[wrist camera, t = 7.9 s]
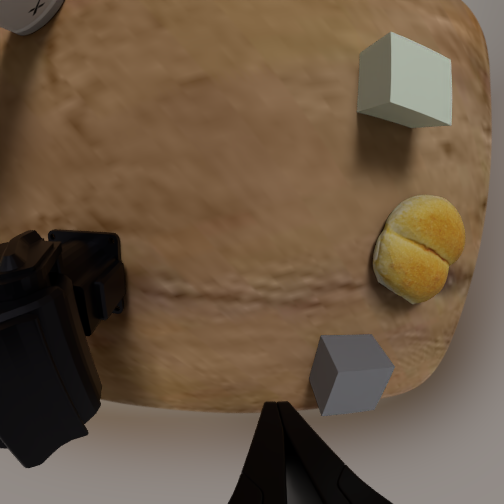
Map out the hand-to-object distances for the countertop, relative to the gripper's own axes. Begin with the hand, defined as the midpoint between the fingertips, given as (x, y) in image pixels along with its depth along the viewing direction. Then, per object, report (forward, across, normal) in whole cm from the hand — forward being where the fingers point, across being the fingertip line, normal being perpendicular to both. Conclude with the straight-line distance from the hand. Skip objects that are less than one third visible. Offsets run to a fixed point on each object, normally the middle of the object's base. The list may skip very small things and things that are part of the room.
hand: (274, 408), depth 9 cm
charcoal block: (+13, -9, +8) cm, 18 cm away
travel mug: (+13, +21, -23) cm, 34 cm away
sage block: (+13, -9, -15) cm, 22 cm away
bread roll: (+14, -14, -3) cm, 19 cm away
